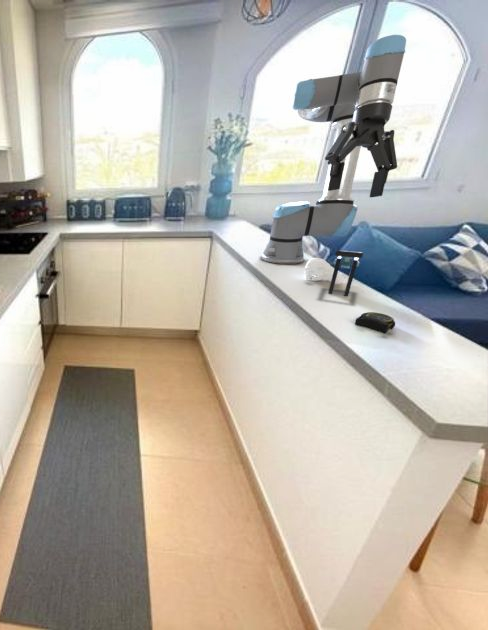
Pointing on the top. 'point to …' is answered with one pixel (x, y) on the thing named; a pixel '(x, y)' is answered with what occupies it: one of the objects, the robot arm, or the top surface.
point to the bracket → (353, 268)
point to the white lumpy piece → (321, 271)
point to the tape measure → (375, 321)
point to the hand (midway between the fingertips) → (354, 193)
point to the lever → (348, 257)
